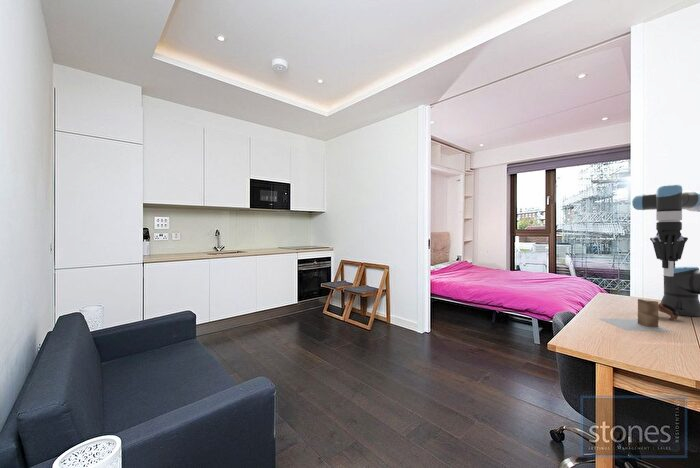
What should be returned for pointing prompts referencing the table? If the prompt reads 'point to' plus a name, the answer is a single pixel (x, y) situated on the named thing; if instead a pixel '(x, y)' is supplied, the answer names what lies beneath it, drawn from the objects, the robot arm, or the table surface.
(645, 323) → the walnut block
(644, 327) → the mat
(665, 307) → the brown curved arch
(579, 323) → the table surface
